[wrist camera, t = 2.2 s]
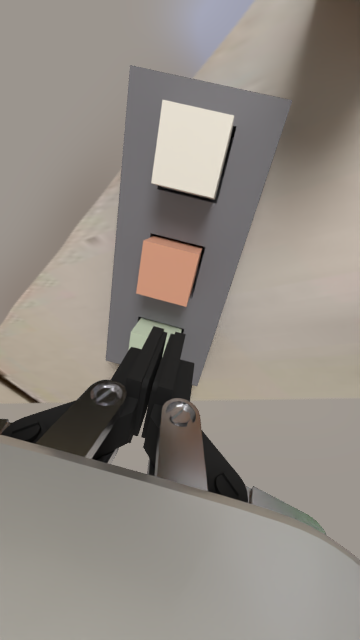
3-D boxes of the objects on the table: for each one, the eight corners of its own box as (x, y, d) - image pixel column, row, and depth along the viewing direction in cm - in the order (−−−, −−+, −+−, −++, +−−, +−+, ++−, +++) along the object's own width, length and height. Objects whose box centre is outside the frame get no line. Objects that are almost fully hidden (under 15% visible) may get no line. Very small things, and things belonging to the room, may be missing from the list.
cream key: (231, 134, 22) (234, 115, 17) (215, 200, 24) (213, 198, 20) (174, 121, 22) (162, 99, 18) (163, 187, 25) (151, 183, 20)
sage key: (183, 325, 31) (176, 344, 27) (174, 357, 34) (167, 380, 29) (143, 314, 32) (130, 331, 27) (138, 347, 34) (125, 368, 30)
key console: (281, 117, 23) (292, 100, 19) (199, 369, 37) (197, 386, 34) (144, 87, 23) (130, 65, 20) (116, 346, 38) (105, 360, 34)
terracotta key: (203, 247, 27) (199, 254, 22) (191, 291, 29) (186, 306, 25) (156, 235, 27) (143, 240, 22) (149, 280, 29) (136, 293, 25)
